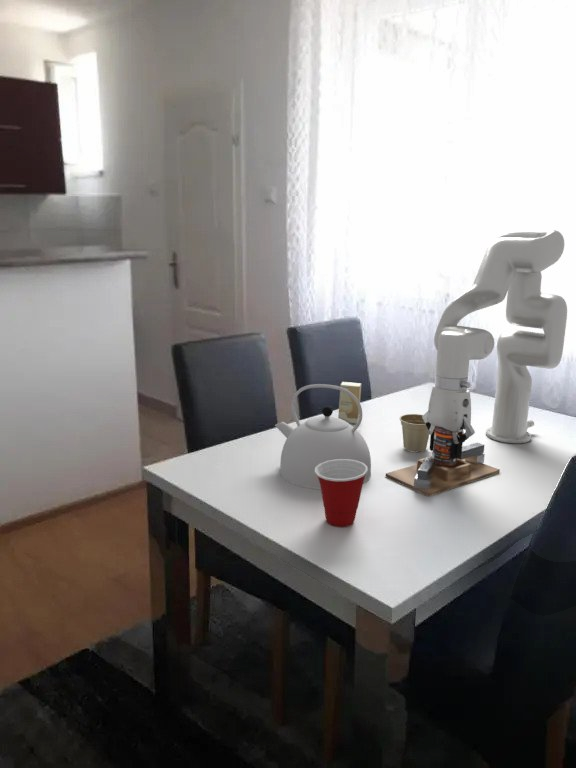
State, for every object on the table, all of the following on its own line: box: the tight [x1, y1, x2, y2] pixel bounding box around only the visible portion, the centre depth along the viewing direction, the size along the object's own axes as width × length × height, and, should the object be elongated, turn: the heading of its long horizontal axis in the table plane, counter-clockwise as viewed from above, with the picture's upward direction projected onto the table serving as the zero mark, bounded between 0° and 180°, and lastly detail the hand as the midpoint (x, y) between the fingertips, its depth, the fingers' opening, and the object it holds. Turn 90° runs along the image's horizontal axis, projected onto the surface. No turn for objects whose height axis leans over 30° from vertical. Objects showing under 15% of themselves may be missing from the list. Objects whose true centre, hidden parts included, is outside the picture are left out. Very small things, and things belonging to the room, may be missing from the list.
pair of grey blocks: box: [414, 442, 485, 491], centre depth 153 cm, size 28×8×5 cm, turn 126°
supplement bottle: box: [431, 427, 459, 466], centre depth 153 cm, size 6×6×11 cm
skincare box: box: [337, 381, 362, 425], centre depth 195 cm, size 6×4×12 cm
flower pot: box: [399, 413, 430, 453], centre depth 172 cm, size 9×9×9 cm
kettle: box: [274, 383, 372, 491], centre depth 153 cm, size 25×23×23 cm
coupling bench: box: [385, 455, 501, 497], centre depth 155 cm, size 26×14×3 cm, turn 126°
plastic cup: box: [315, 459, 368, 528], centre depth 128 cm, size 11×11×12 cm
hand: (445, 452), depth 154 cm, fingers closed on supplement bottle, 6 cm apart
